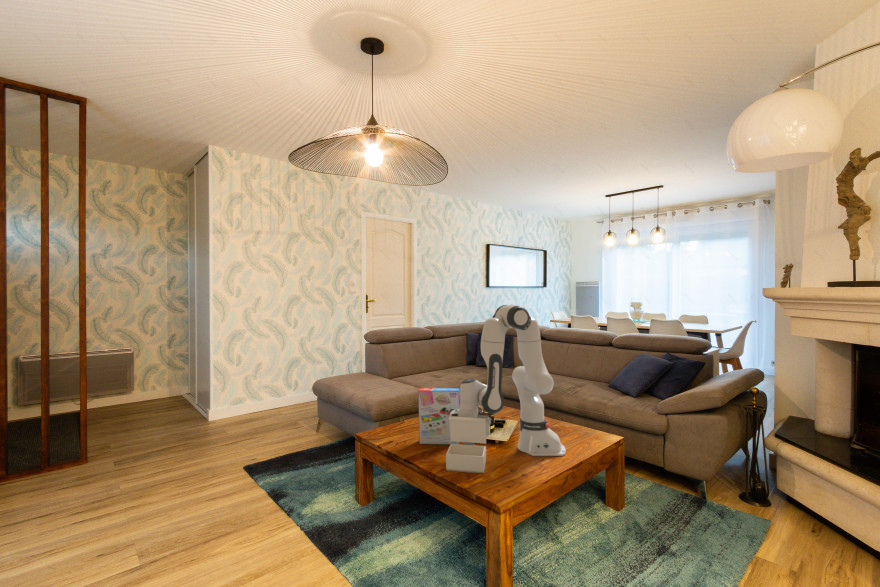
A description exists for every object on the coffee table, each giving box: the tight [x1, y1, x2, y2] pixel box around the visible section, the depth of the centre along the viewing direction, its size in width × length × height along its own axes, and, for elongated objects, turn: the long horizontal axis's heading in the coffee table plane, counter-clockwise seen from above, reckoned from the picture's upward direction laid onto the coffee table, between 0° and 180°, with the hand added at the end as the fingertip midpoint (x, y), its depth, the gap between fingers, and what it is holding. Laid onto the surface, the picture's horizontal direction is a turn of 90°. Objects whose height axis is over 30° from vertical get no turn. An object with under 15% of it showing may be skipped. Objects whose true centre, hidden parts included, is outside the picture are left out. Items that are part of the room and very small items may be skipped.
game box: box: [417, 387, 461, 445], centre depth 206 cm, size 21×6×27 cm, turn 84°
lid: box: [449, 416, 487, 445], centre depth 186 cm, size 16×20×9 cm
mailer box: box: [445, 443, 487, 474], centre depth 178 cm, size 16×12×7 cm
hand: (467, 443), depth 190 cm, fingers closed, pressing on lid
